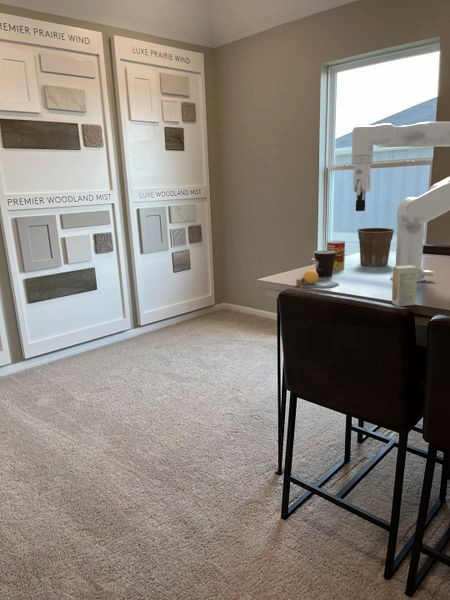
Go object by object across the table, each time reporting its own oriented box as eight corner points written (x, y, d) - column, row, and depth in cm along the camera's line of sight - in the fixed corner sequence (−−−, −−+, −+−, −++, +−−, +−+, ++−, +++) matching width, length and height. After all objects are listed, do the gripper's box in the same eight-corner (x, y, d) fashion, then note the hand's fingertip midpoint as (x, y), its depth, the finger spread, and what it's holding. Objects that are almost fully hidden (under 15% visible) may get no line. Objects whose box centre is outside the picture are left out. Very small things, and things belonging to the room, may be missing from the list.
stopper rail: (307, 280, 182) (307, 274, 181) (300, 286, 173) (300, 279, 172) (304, 280, 182) (304, 274, 182) (296, 285, 174) (296, 279, 173)
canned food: (324, 267, 208) (324, 241, 205) (340, 266, 209) (341, 240, 206) (329, 270, 201) (330, 243, 198) (346, 269, 201) (347, 242, 198)
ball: (320, 282, 177) (319, 268, 175) (316, 285, 172) (315, 271, 171) (306, 282, 179) (305, 268, 178) (302, 285, 174) (301, 271, 173)
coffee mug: (335, 277, 185) (335, 253, 182) (313, 277, 187) (314, 253, 184) (334, 272, 196) (334, 249, 193) (314, 272, 198) (314, 249, 195)
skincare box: (410, 302, 145) (412, 264, 142) (416, 305, 141) (418, 267, 138) (390, 302, 145) (392, 265, 142) (395, 306, 141) (398, 268, 138)
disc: (342, 281, 177) (342, 281, 177) (334, 289, 166) (334, 288, 166) (309, 279, 183) (309, 279, 183) (300, 286, 172) (300, 286, 171)
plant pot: (395, 267, 200) (397, 231, 196) (358, 268, 203) (359, 232, 199) (388, 261, 216) (390, 227, 212) (354, 261, 218) (355, 228, 214)
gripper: (369, 160, 160) (367, 212, 165) (375, 160, 173) (373, 209, 178) (347, 161, 163) (346, 212, 168) (355, 162, 176) (354, 209, 181)
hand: (360, 210), depth 173 cm, fingers closed
